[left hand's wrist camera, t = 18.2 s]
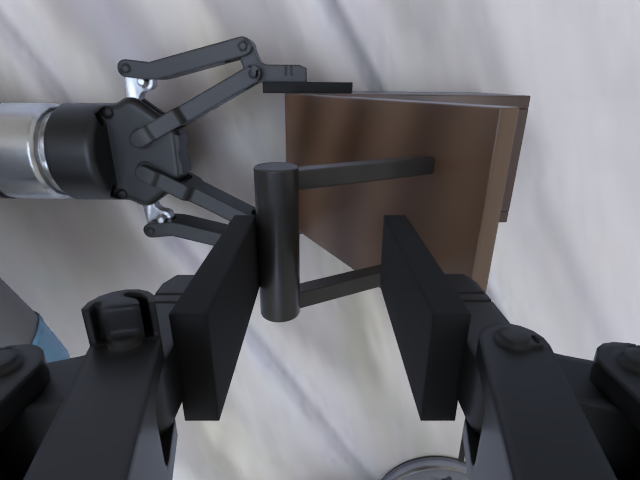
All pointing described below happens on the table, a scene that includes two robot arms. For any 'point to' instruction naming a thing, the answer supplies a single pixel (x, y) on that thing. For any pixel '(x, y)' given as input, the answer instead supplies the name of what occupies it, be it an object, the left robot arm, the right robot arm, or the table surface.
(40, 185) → the right robot arm
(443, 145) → the lid
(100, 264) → the table surface
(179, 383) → the left robot arm
